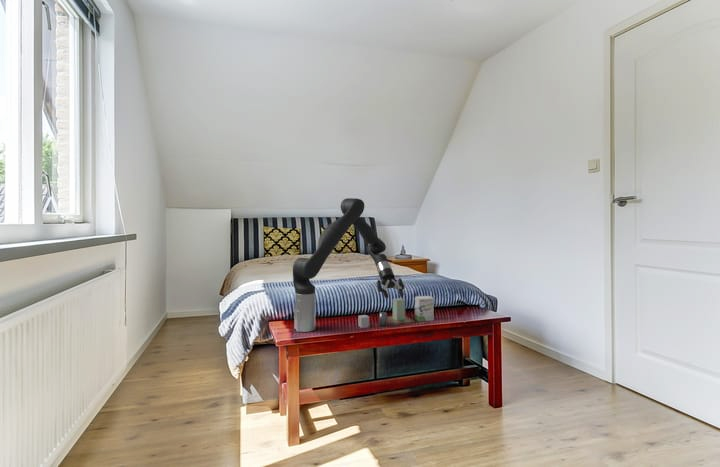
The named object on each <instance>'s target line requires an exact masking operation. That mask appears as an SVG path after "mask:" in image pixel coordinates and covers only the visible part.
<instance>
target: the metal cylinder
mask: <svg viewBox="0 0 720 467" xmlns="http://www.w3.org/2000/svg"><path fill="white" fill-rule="evenodd" d="M378 313H379V315H378V326H380V327H387V321H386V320H387V317H388V316H387V315H388V314H387V312H385V311H383V312H382V311H381V312H378Z"/></svg>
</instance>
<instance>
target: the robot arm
mask: <svg viewBox="0 0 720 467" xmlns="http://www.w3.org/2000/svg"><path fill="white" fill-rule="evenodd" d="M340 210H341V213H342V214H343V215H342V216H341V217H339V218H337V219H336V220H334V221H332V222H331V223H330V224H328V225H327V226H326V227H325V228H324V230H323V231H322V232H321V234H320V236H319V238H318V241H317V242H318V243H317V244H318V245H317V248H316V250H315V251H314V252H313V253H312V255H311V256H310V257H308V258H307V257H299V258H296V260H294V262H293V266H292V282H293V284H292V285H293V287H294V292H295V293H294V294H295V297H294V299H295V301H294V302H295V308H293V309H294V310H293V311H294V313H293V318H294V320H293V321H294V324H293V326H294V329H296V330H295V331H296V332H298V333H299V332H301V333H306V332H307V333H308V332H313V331H315V330H316V286H315V285H314V284H313V283H312V282H311V280H310V279H314V278H315V277H316V276H317V275H318V274H319V272H320V271H321V269H322V267H323V265H324V264H325V263H326V261H327V259H328V257H329V256H330V254H331V253H333V250H334V249H335V248H336V246H337V245H338V244H339V243H340V241H341V239H342V238H343V237H344V236H345V234H346V233H347V232H348V230H349V229H350V228H351V227H352V226H353V227H354V228H355V229H356V231H357V232H358V233H359V235H360V236H361V238H362V239H363V241H364V242H365V243H366V245H367V247H366V252H367V253H368V255H369V256H370V258H372V260H373V261H374V264H375V267H376V271H377V273H378V277H379V279H377V281H376V283H375V284H376V287H377V290H378V292H379V293H382V294H383V297H384V298H385V299H389V293H388V291H387V289H395V290H397V291H398V294H399V296H400V297H399V298H403V297H404V295H405V293H404V289H405V288H406V287H405V286H406V285H405V284H404V283H403V280H402V278H400V277H399V278H398V279H396V278H395V274H394V271H393V270H392V266H391V264H390V263H389V260H388V257H387V256H386V254H385V253H384V252H385V251H386V250H387V249H386V248H387V246H386V244H385V242H384V241H383V240H382V239H381V238H379V237H378V235H376V233H375V231H374V230H373V227H371V225H370V224H368V223H367V221H365V220H364V219H362V217H361V215H362V214H363V213H364V211H365V202H364V200H362V199H360V198H352V197H351V198H350V197H349V198H348V197H347V198H344V199H343V200H342V201H341V203H340ZM382 285H383V287H382Z"/></svg>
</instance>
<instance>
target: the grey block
mask: <svg viewBox="0 0 720 467" xmlns="http://www.w3.org/2000/svg"><path fill="white" fill-rule="evenodd" d="M357 322H358V323H357V324H358V325H357V326H358V327H360V328H361V329H367V328H370V316H368V315H366V314H361V315H358V318H357Z"/></svg>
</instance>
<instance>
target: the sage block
mask: <svg viewBox="0 0 720 467" xmlns="http://www.w3.org/2000/svg"><path fill="white" fill-rule="evenodd" d="M392 316H393V319H395V320H397V321H398V320H405V316H406V299H404V298H403V297H398V298H392Z"/></svg>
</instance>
